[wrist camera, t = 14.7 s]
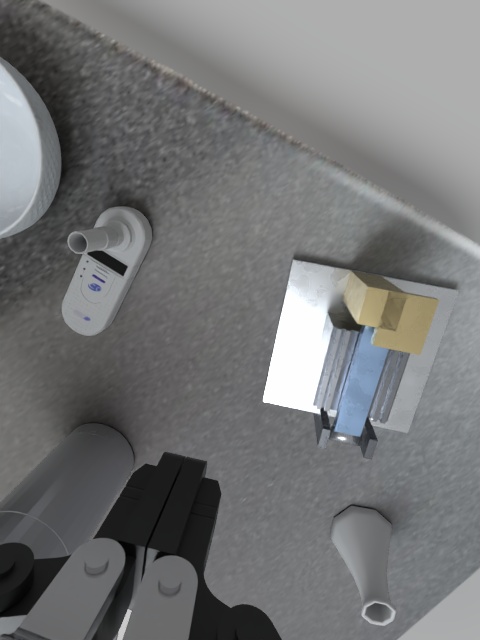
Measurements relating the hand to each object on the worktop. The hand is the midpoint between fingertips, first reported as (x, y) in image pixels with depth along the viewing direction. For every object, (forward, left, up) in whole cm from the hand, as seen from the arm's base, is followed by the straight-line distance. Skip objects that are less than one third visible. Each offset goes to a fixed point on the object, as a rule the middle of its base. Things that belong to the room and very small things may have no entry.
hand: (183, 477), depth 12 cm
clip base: (-3, -11, -27) cm, 29 cm away
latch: (+3, -11, -26) cm, 29 cm away
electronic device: (0, +16, -28) cm, 32 cm away
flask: (-26, -18, -27) cm, 42 cm away
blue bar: (-4, -11, -21) cm, 24 cm away
